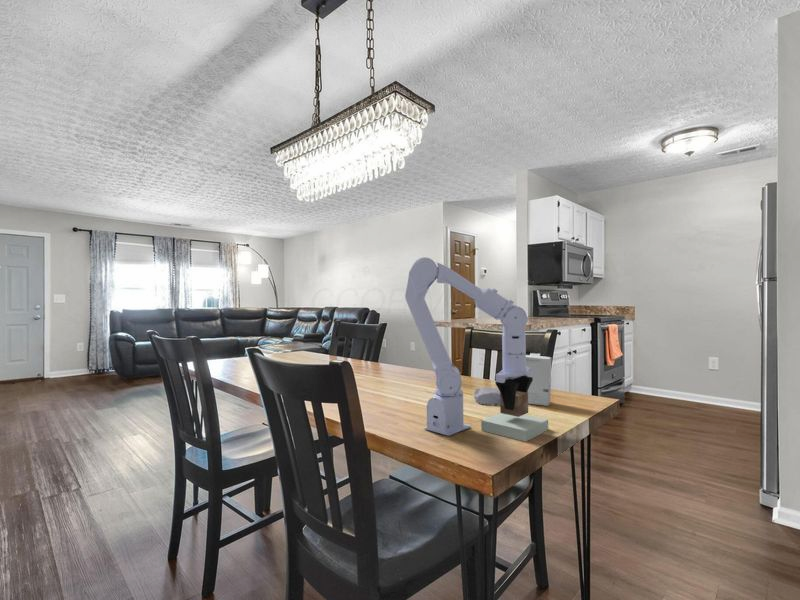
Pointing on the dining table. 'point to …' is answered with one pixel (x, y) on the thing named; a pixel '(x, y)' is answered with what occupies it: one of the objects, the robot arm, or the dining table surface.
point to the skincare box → (539, 380)
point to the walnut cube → (516, 405)
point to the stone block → (487, 395)
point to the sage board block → (515, 426)
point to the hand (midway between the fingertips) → (514, 407)
